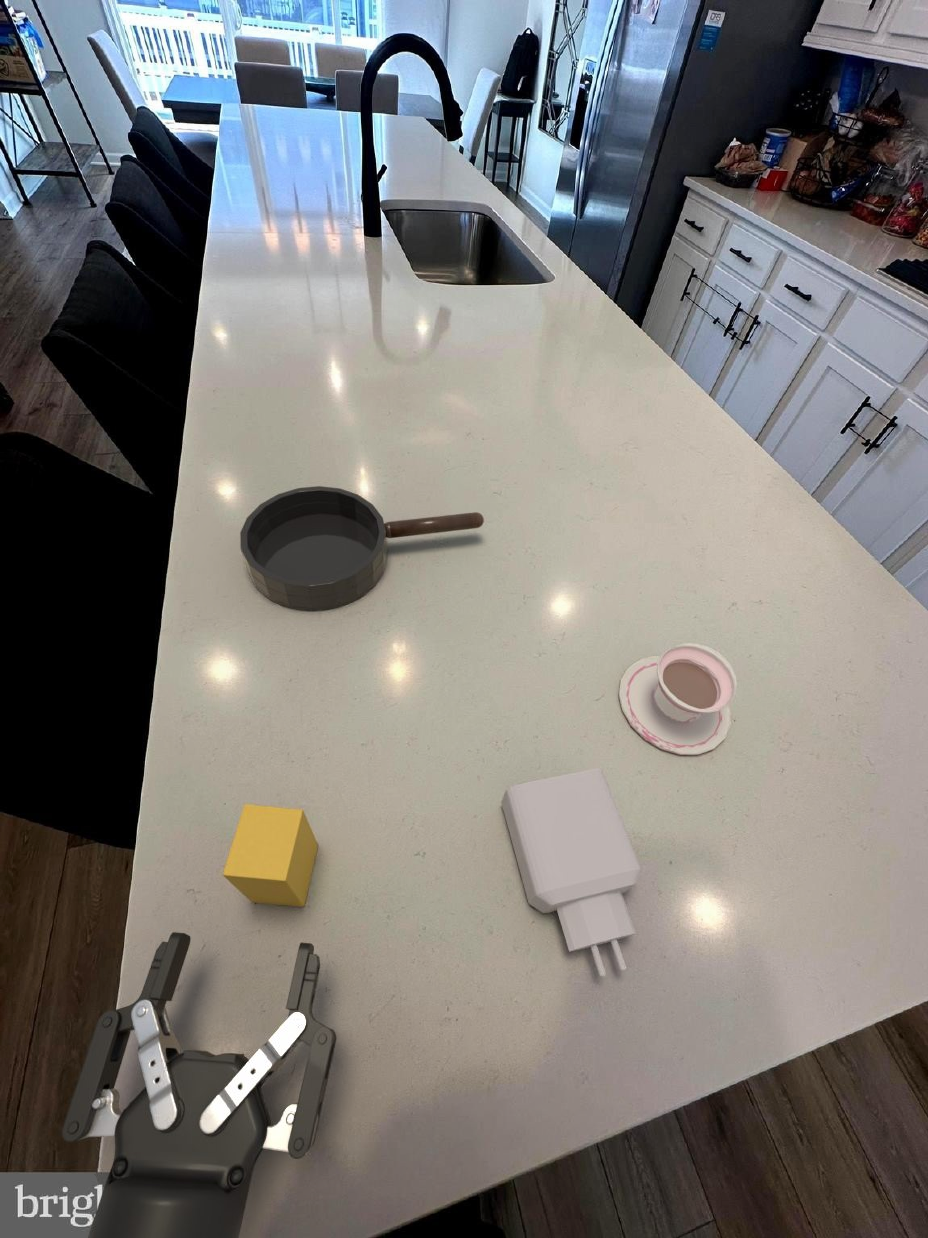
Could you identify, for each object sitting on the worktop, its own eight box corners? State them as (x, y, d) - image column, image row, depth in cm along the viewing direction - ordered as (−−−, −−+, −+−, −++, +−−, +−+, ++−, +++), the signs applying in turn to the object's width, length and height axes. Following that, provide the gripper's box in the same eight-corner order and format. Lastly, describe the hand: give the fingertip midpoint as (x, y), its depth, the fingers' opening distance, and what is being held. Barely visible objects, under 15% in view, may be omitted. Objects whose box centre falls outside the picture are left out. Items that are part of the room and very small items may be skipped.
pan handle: (383, 542, 68) (382, 530, 67) (380, 531, 70) (379, 519, 68) (484, 530, 71) (486, 518, 70) (480, 519, 72) (482, 508, 71)
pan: (250, 620, 63) (241, 594, 59) (247, 520, 72) (239, 493, 69) (396, 600, 66) (396, 574, 63) (375, 507, 76) (374, 480, 72)
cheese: (304, 907, 46) (285, 881, 39) (250, 902, 46) (221, 875, 39) (318, 844, 49) (303, 809, 42) (268, 839, 49) (244, 803, 42)
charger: (550, 992, 44) (499, 804, 52) (657, 962, 45) (591, 785, 54) (563, 987, 40) (506, 785, 48) (679, 954, 42) (604, 766, 50)
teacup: (694, 780, 55) (722, 754, 50) (596, 703, 60) (612, 672, 55) (747, 705, 61) (776, 675, 56) (654, 640, 66) (673, 607, 61)
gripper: (43, 1271, 31) (159, 938, 41) (300, 1290, 31) (353, 955, 41) (-44, 1324, 25) (117, 920, 35) (274, 1346, 25) (344, 939, 35)
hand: (245, 939), depth 38 cm, fingers open, 8 cm apart
